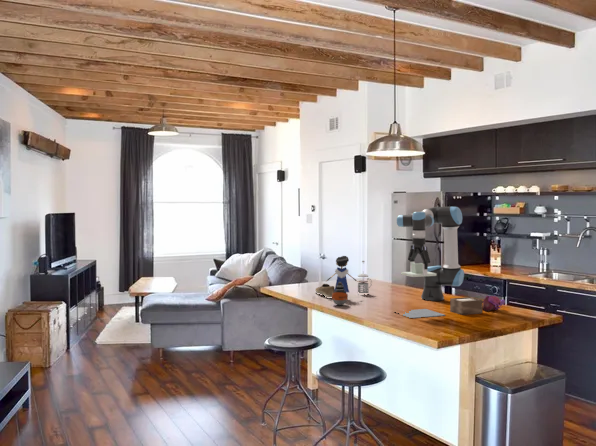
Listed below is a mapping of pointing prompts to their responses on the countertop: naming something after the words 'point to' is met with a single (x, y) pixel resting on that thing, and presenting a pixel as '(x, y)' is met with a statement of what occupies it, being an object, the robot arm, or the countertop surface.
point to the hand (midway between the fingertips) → (418, 273)
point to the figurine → (342, 272)
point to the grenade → (339, 294)
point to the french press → (365, 285)
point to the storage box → (466, 305)
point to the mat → (422, 313)
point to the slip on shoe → (326, 290)
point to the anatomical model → (492, 303)
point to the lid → (417, 271)
